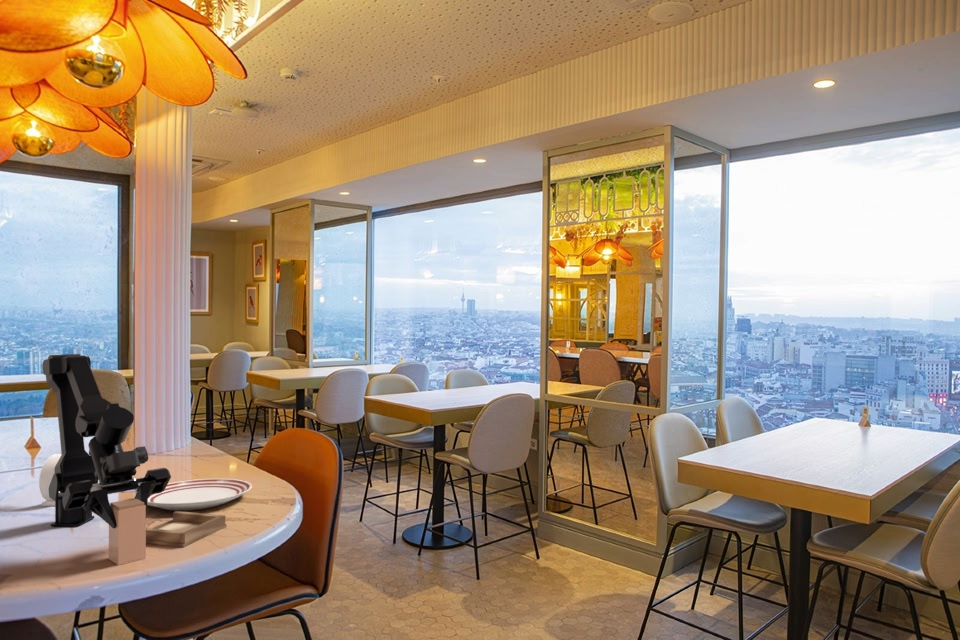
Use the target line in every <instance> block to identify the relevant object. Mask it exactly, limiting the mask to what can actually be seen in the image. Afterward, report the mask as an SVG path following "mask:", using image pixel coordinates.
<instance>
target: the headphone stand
mask: <svg viewBox="0 0 960 640" xmlns="http://www.w3.org/2000/svg"><path fill="white" fill-rule="evenodd" d="M61 455H62V454H61V453H54V454H51V455H50V456H49V457H48V458H47V459H46V460H45V462H44V463H43V465H42V468H41V470H40V474H39V482H38V483H39V484H38V486H39V487H38V488H39V491H40V494H41V497H42V498H43V499H44V500H45V501H43V502H41V507H55V501H54V500H53V499H51V498H50V497H49V485H50V483H51V480H52V477H53V475H54V474H55V466H56V464H57V462H58V460H59V459H60V457H61ZM59 493H60V491H59Z"/></svg>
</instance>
